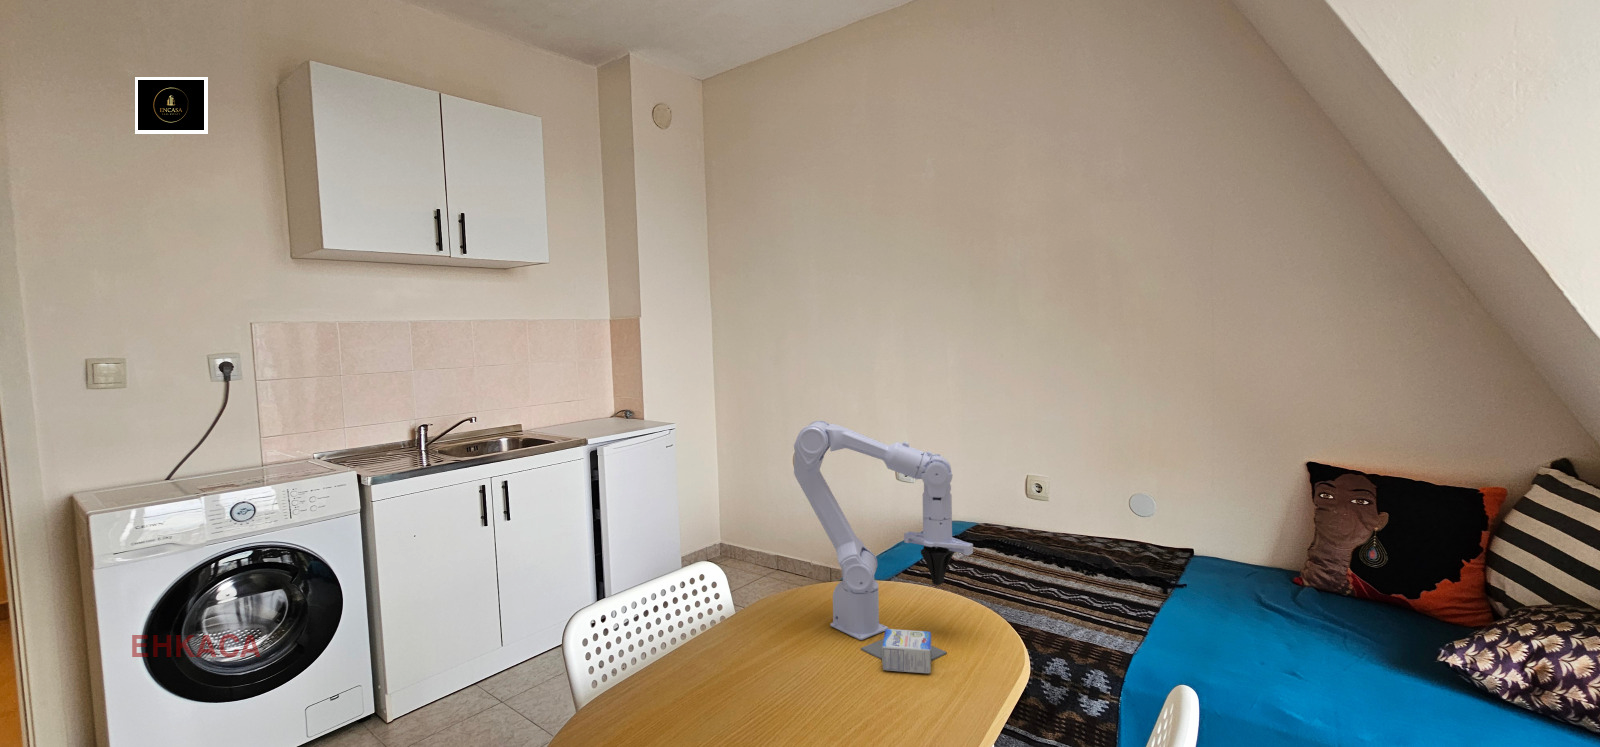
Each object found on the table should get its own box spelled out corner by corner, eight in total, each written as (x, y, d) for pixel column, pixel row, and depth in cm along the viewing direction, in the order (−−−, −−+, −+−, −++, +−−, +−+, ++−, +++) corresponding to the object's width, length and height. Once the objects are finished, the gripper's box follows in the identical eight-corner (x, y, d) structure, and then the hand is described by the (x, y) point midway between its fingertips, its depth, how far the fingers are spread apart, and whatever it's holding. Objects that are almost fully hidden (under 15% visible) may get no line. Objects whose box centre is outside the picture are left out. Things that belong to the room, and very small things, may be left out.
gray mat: (860, 649, 131) (860, 648, 131) (899, 633, 137) (899, 631, 137) (907, 672, 121) (907, 670, 121) (946, 653, 128) (946, 652, 128)
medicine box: (931, 650, 120) (881, 646, 121) (931, 674, 120) (881, 670, 121) (931, 631, 127) (885, 627, 129) (931, 654, 127) (885, 650, 129)
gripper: (895, 515, 137) (896, 581, 138) (960, 526, 128) (961, 597, 128) (914, 508, 143) (915, 571, 143) (977, 519, 133) (978, 587, 134)
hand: (938, 583), depth 136 cm, fingers closed
